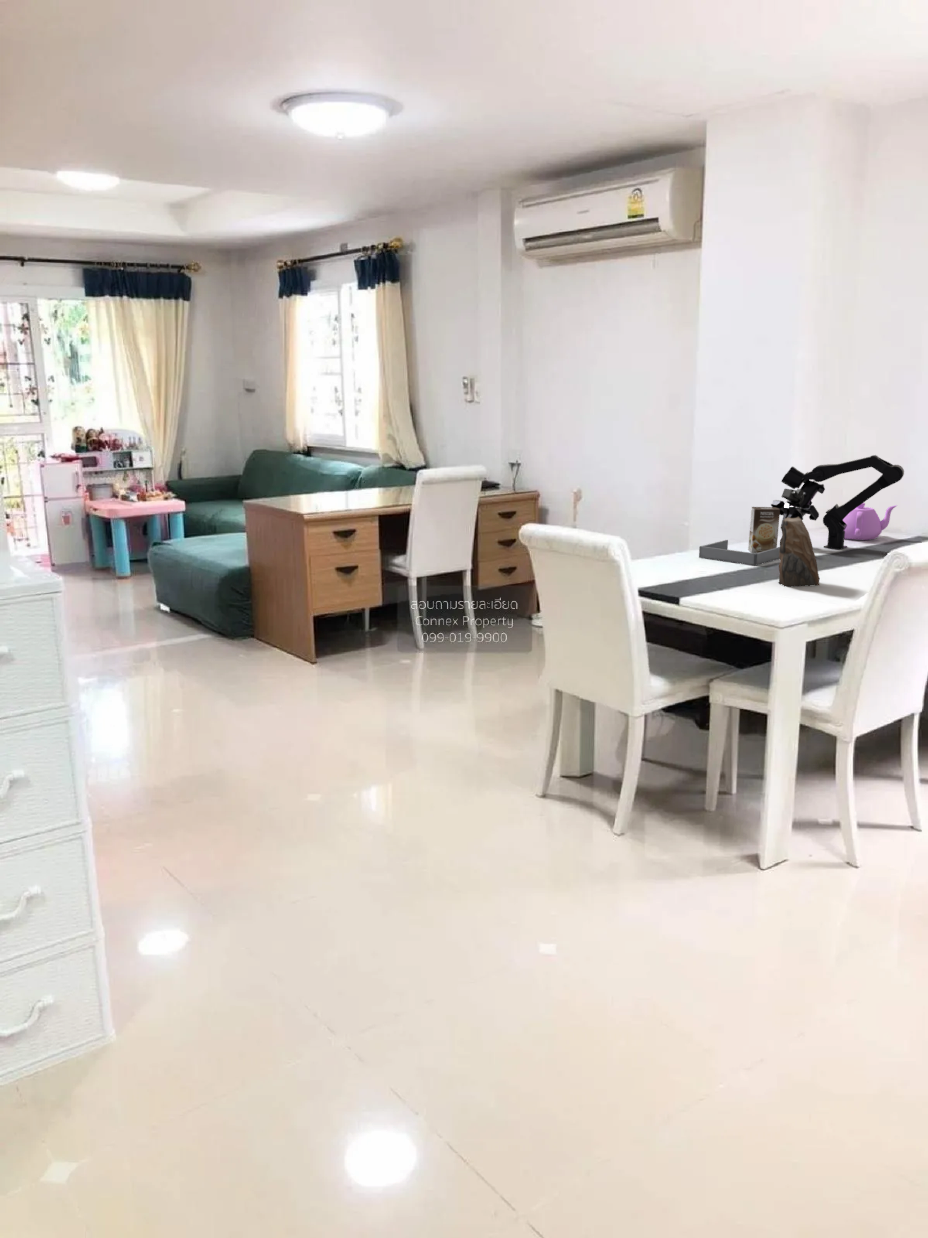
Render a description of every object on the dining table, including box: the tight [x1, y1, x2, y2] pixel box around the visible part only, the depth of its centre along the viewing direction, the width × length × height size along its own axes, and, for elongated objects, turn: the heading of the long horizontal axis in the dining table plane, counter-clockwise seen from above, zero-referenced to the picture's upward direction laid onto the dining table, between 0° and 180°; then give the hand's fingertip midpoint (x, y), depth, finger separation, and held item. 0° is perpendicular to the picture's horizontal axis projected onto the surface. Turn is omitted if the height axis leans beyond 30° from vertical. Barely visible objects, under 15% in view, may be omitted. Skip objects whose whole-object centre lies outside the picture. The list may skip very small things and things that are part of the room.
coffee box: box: [747, 506, 781, 553], centre depth 354 cm, size 9×6×16 cm
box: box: [698, 539, 780, 567], centre depth 344 cm, size 18×22×4 cm
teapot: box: [843, 502, 898, 541], centre depth 379 cm, size 22×22×14 cm
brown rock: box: [777, 517, 820, 588], centre depth 304 cm, size 13×13×20 cm
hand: (782, 527), depth 358 cm, fingers closed
